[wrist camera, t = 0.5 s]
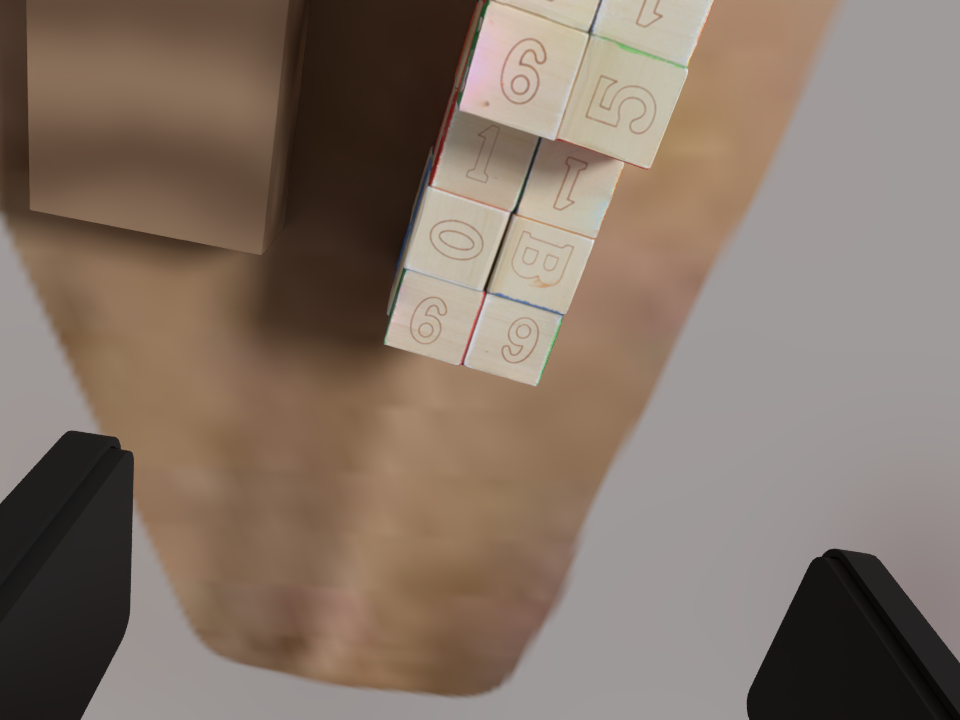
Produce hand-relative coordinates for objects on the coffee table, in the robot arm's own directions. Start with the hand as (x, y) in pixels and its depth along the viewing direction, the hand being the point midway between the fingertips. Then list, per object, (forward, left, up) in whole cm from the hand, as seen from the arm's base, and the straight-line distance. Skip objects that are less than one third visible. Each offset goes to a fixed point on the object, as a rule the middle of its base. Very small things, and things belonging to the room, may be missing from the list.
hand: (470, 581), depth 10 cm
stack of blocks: (-6, +2, -27) cm, 28 cm away
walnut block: (-6, -12, -27) cm, 30 cm away
